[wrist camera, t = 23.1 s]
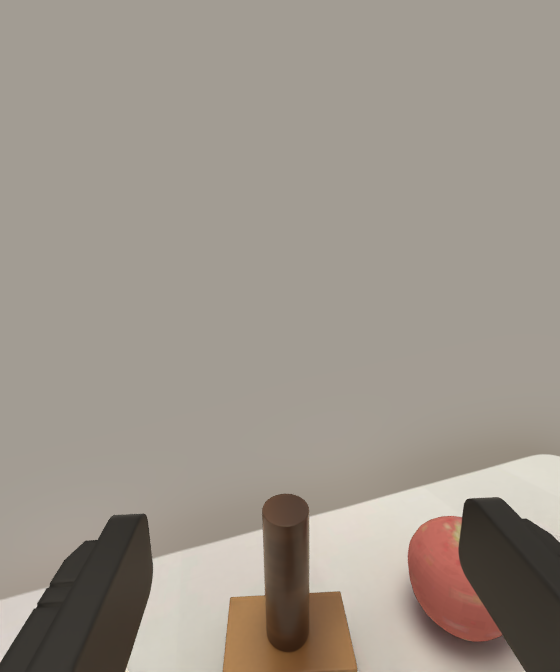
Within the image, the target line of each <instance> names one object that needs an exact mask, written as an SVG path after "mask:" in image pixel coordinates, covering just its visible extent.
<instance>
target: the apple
mask: <svg viewBox="0 0 560 672" xmlns="http://www.w3.org/2000/svg"><path fill="white" fill-rule="evenodd" d="M461 523H462V517H455V516H444V517H438V518H435V519H431V520H429V521H427V522H426V523H424V524H423V525H421V526H420V527H419V528H418V530H417V531H416V533H415V534H414V535H413V537H412V539H411V541H410V544H409V550H408V566H409V575H410V580H411V584H412V587H413V591H414V594H415V596H416V598H417V600H418V602H419V603H420V605H421V606H422V608H423V609H424V611H425V612H426V614H427V615H428V616H429V617H430V618H431V619H432V620H433V621H434V622H435V623H436V624H437V625H439V626H440V627H441V628H443V629H444V630H445V631H447V632H449V633H451V634H452V635H454V636H456V637H459V638H461V639H464V640H468V641H474V642H477V641H488V640H491V639H494V638H497V637H500V636H502V633H501V632H500V630H499V629H498V627H497V625H496V624H495V622H494V621H493V619H492V618H491V616H490V614H489V613H488V611H487V610H486V608H485V607H484V605H483V603H482V602H481V600H480V599H479V597H478V595H477V594H476V592H475V591H474V589H473V588H472V586H471V584H470V583H469V581H468V580H467V578H466V576H465V574H464V572H463V570H462V567H461V564H460V560H459V553H458V547H459V539H460V531H461Z"/></svg>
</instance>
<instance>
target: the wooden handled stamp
mask: <svg viewBox="0 0 560 672" xmlns="http://www.w3.org/2000/svg"><path fill="white" fill-rule="evenodd" d="M262 517H263V547H264V576H265V596H246V597H231V598H230V604H229V614H228V624H227V634H226V644H225V654H224V664H223V672H357V665H356V660H355V656H354V651H353V647H352V642H351V638H350V633H349V629H348V624H347V620H346V615H345V611H344V606H343V602H342V597H341V593H340V592H321V593H309V507H308V505H307V503H306V502H305V500H303V499H302V498H300V497H299V496H296V495H292V494H280V495H276V496H273V497H271V498H270V499H268V500H267V501H266V502H265V504H264V506H263V509H262Z"/></svg>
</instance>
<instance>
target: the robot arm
mask: <svg viewBox="0 0 560 672" xmlns="http://www.w3.org/2000/svg"><path fill="white" fill-rule="evenodd" d="M458 553H459V560H460V564H461V567H462V570H463V572H464V574H465V576H466V578H467V580H468V581H469V583H470V584H471V586H472V588H473V589H474V591H475V592H476V594H477V595H478V597H479V599H480V600H481V602H482V603H483V605H484V607H485V608H486V610H487V611H488V613H489V614H490V616H491V618H492V619H493V621H494V622H495V624H496V625H497V627H498V629H499V630H500V632H501V633H502V635H503V636H504V638H505V640H506V641H507V643H508V644H509V646H510V648H511V649H512V651H513V652H514V654H515V655H516V657H517V659H518V660H519V662H520V663H521V665H522V666H523V668H524V670H525V671H526V672H560V542H558V541H557V540H556V539H555V538H554V537H553V536H552V535H551V534H550V533H548V532H547V531H545V530H544V529H542V528H540V527H539V526H537V525H536V524H534V523H533V522H531V521H529V520H528V519H522V518H521V517H520V516H519V515H518V514H517V513H516V512H515V511H514V510H513V509H512V508H511V507H510V506H509V505H508V504H507V503H506V502H505V501H504V500H502V499H501V498H498V497H493V498H472V499H467V500H466V501H465V503H464V508H463V516H462V523H461V531H460V539H459V547H458ZM152 576H153V562H152V554H151V545H150V536H149V528H148V520H147V516H146V515H145V514H129V515H113V516H112V517H111V518H110V519H109V520H108V522H107V524H106V526H105V528H104V529H103V531H102V533H101V535H100V537H99V538H98V540H93V541H92V540H91V541H85V542H84V543H83V544H82V545H80V546H79V547H78V548H77V549H76V550H75V551H74V552H73V553H72V554H71V555H70V556H68V557H67V559H65V560H64V562H63V563H62V565H61V567H60V568H59V570H58V571H57V573H56V574H55V576H54V578H53V579H52V581H51V583H50V587H49V588H47V589H46V590H45V592H44V594H43V595H42V597H41V598H40V600H39V602H38V603H37V608H36V609H34V610H33V611H32V613H31V614H30V616H29V618H28V619H27V621H26V622H25V624H24V626H23V627H22V629H21V630H20V632H19V634H18V635H17V637H16V638H15V640H14V642H13V643H12V645H11V646H10V648H9V650H8V651H7V653H6V654H5V656H4V658H3V659H2V661H1V662H0V672H125V670H126V667H127V664H128V661H129V658H130V655H131V651H132V648H133V645H134V642H135V639H136V636H137V633H138V629H139V626H140V623H141V620H142V617H143V614H144V610H145V607H146V604H147V601H148V598H149V594H150V590H151V584H152Z"/></svg>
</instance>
